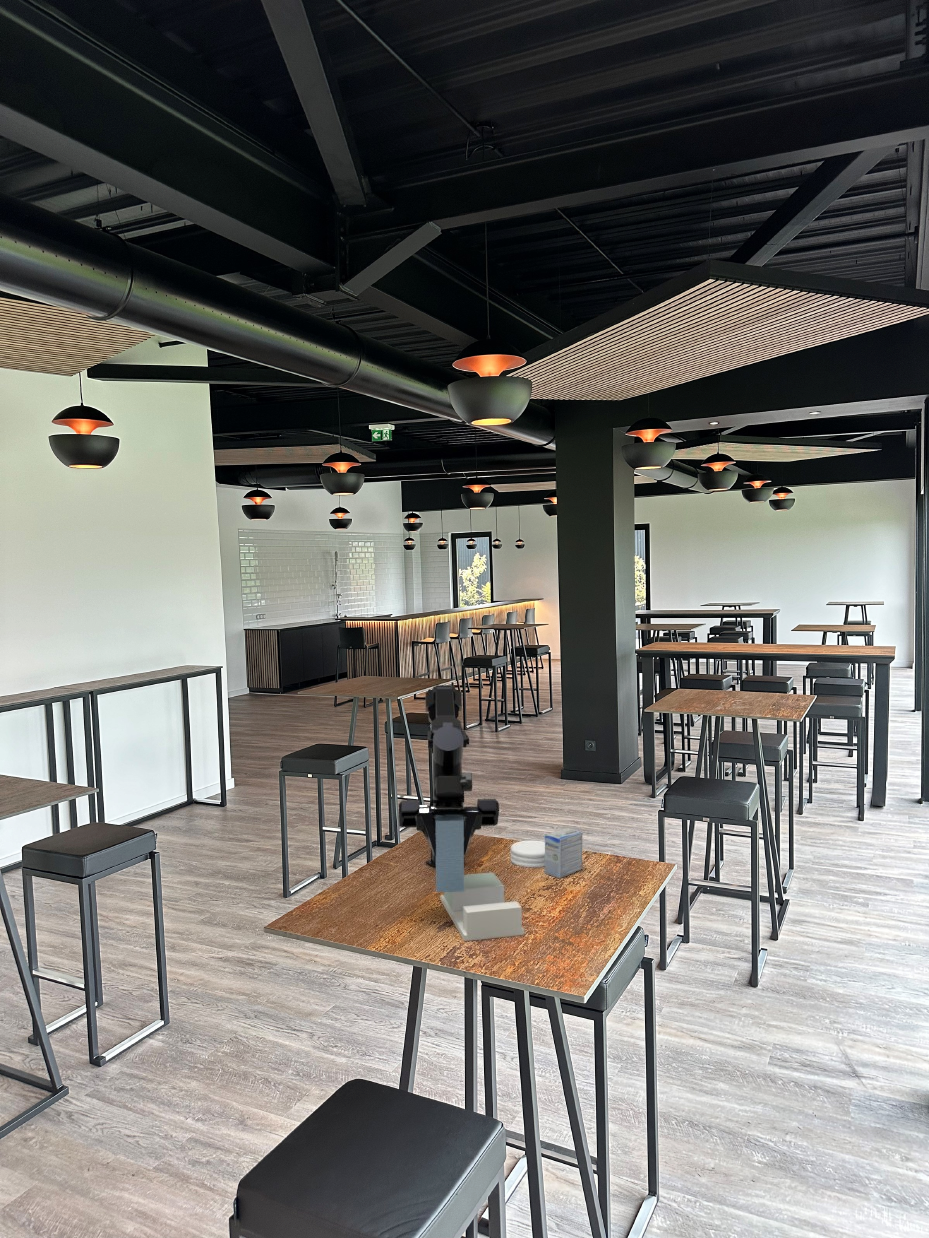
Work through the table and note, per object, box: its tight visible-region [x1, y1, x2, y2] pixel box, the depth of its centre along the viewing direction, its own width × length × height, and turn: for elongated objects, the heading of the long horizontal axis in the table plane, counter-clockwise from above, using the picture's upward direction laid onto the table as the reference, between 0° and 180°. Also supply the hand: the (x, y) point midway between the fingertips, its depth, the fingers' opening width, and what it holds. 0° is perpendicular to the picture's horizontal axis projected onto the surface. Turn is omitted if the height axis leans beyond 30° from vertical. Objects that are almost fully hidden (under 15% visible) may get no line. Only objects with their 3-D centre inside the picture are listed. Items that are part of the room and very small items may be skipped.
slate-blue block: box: [435, 815, 465, 893], centre depth 150 cm, size 4×5×13 cm
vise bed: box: [440, 894, 525, 942], centre depth 154 cm, size 20×11×5 cm, turn 14°
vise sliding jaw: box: [443, 871, 505, 912], centre depth 159 cm, size 8×10×4 cm
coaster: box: [509, 840, 545, 869], centre depth 187 cm, size 10×10×4 cm
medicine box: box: [544, 827, 583, 879], centre depth 179 cm, size 8×4×9 cm, turn 134°
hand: (449, 854), depth 149 cm, fingers closed on slate-blue block, 5 cm apart
